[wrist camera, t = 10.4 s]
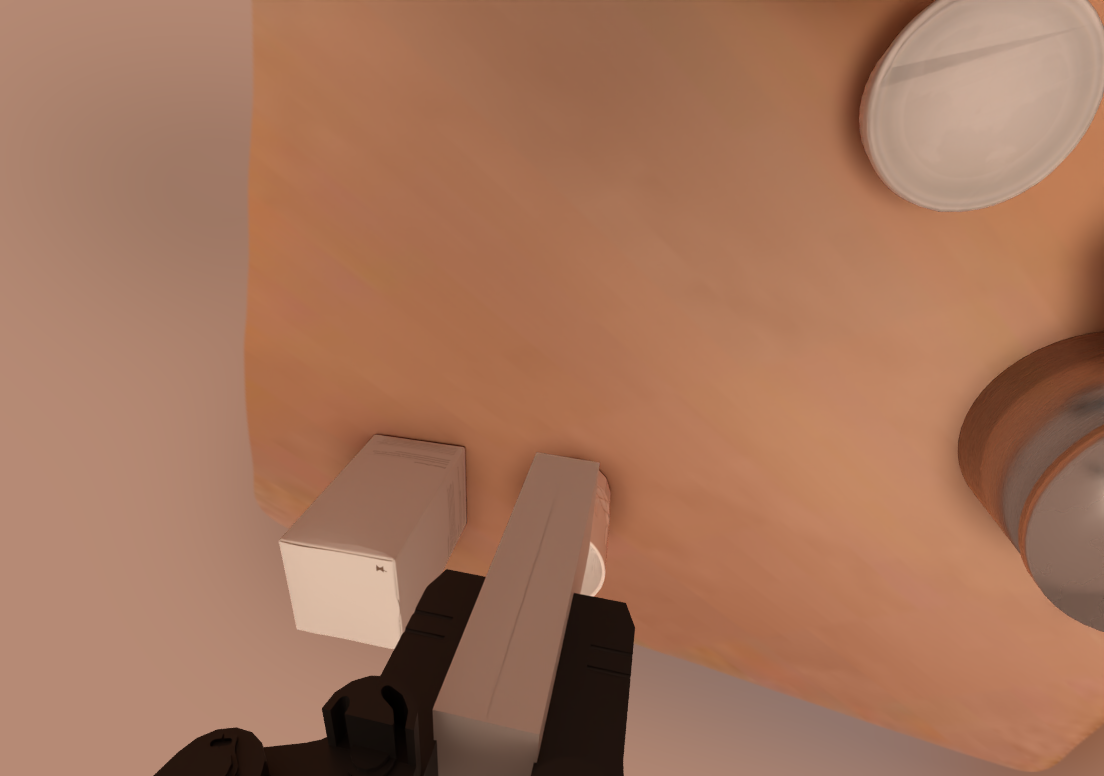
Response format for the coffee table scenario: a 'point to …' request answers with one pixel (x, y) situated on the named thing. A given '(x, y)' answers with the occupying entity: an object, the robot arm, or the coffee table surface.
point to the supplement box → (376, 540)
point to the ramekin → (982, 99)
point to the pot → (1030, 423)
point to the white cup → (598, 540)
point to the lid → (1069, 531)
